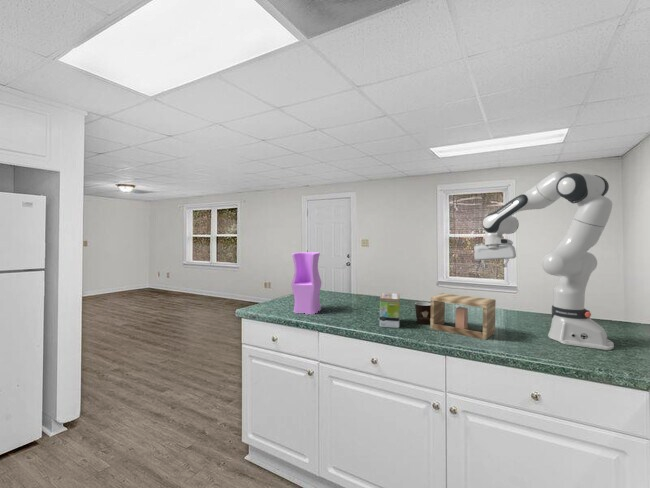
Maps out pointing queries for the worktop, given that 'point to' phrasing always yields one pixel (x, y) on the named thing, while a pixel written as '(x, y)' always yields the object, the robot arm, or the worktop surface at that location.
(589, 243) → the robot arm
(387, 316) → the tea box
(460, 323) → the block
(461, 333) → the shelf
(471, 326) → the worktop surface
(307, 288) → the container
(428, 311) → the coffee mug
